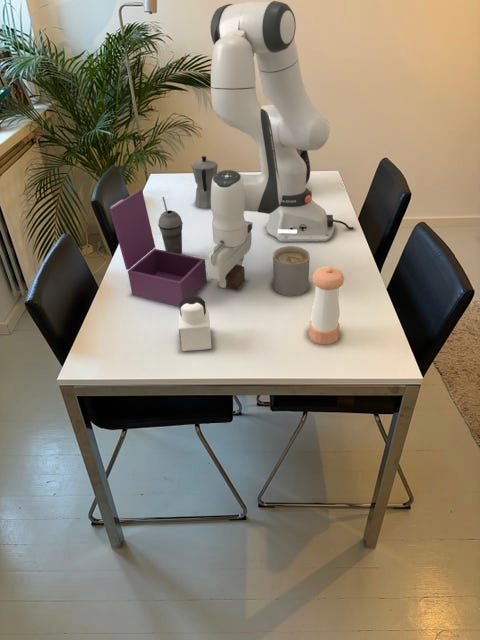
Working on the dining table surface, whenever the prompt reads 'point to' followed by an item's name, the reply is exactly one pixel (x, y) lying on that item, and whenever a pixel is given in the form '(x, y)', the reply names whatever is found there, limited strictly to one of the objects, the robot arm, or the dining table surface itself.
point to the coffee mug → (291, 270)
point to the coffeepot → (204, 181)
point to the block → (235, 277)
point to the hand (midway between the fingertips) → (231, 277)
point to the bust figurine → (194, 324)
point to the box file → (167, 277)
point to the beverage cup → (171, 230)
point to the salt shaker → (326, 306)
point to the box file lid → (132, 228)
